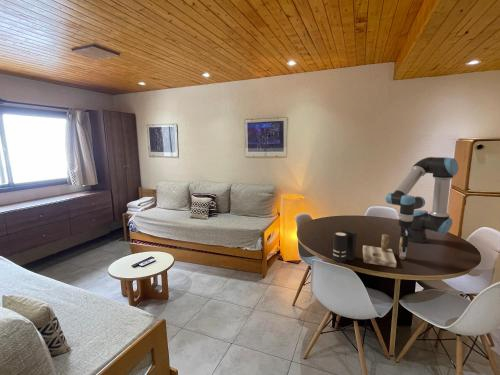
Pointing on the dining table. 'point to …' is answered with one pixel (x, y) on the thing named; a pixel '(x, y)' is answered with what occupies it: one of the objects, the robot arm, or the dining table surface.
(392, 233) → the dining table surface
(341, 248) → the striped black canister
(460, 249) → the dining table surface
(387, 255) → the seat board
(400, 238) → the oak peg
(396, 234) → the dining table surface
